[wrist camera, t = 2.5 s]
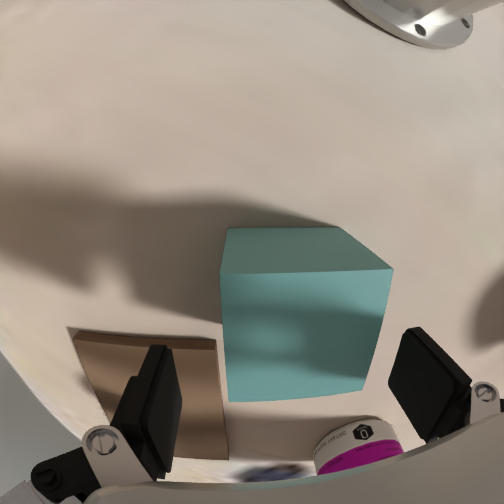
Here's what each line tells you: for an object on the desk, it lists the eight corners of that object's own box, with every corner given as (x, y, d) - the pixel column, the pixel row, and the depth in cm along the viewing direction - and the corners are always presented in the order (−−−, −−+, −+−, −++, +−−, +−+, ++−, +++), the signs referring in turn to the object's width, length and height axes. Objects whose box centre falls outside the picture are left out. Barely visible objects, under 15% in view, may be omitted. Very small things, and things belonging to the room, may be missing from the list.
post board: (78, 331, 16) (41, 380, 11) (216, 340, 17) (208, 407, 11) (129, 442, 21) (117, 484, 16) (229, 451, 21) (228, 499, 16)
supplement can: (297, 442, 21) (322, 582, 7) (378, 402, 20) (439, 542, 6) (329, 465, 23) (355, 572, 9) (396, 432, 22) (441, 538, 8)
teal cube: (227, 228, 14) (219, 274, 9) (340, 227, 15) (393, 269, 9) (231, 326, 16) (228, 401, 11) (329, 322, 17) (361, 390, 11)
